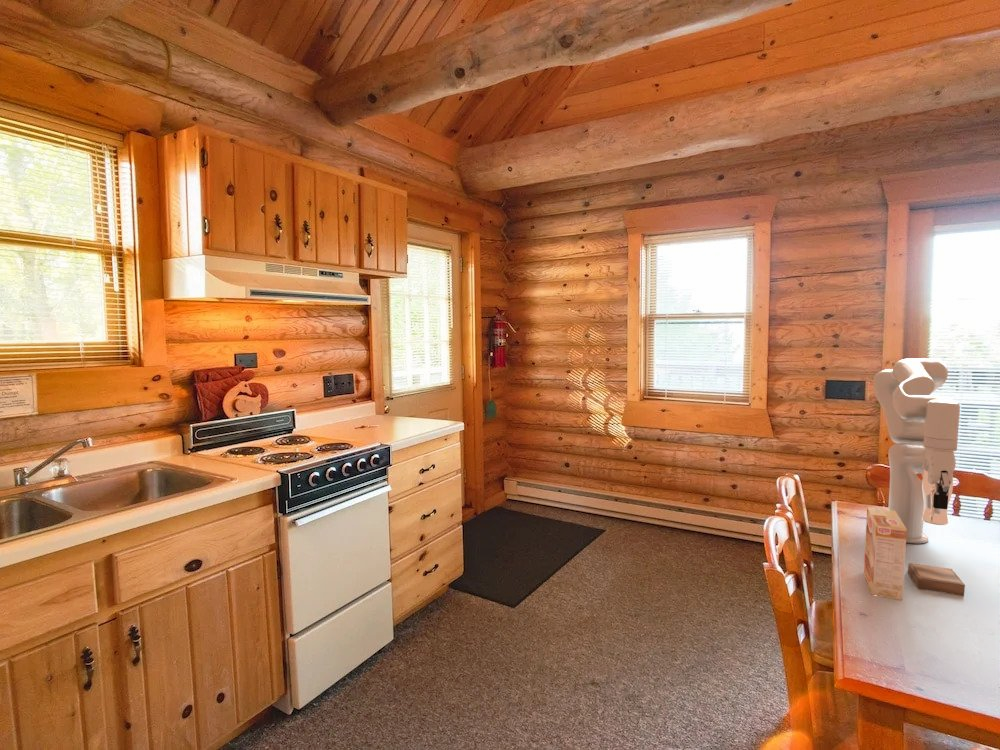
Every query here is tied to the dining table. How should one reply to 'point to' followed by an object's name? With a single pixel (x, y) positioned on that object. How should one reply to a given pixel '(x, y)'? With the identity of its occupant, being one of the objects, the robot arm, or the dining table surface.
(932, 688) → the dining table surface
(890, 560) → the coffeecake box
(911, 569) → the oak board
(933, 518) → the beer glass
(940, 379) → the robot arm
